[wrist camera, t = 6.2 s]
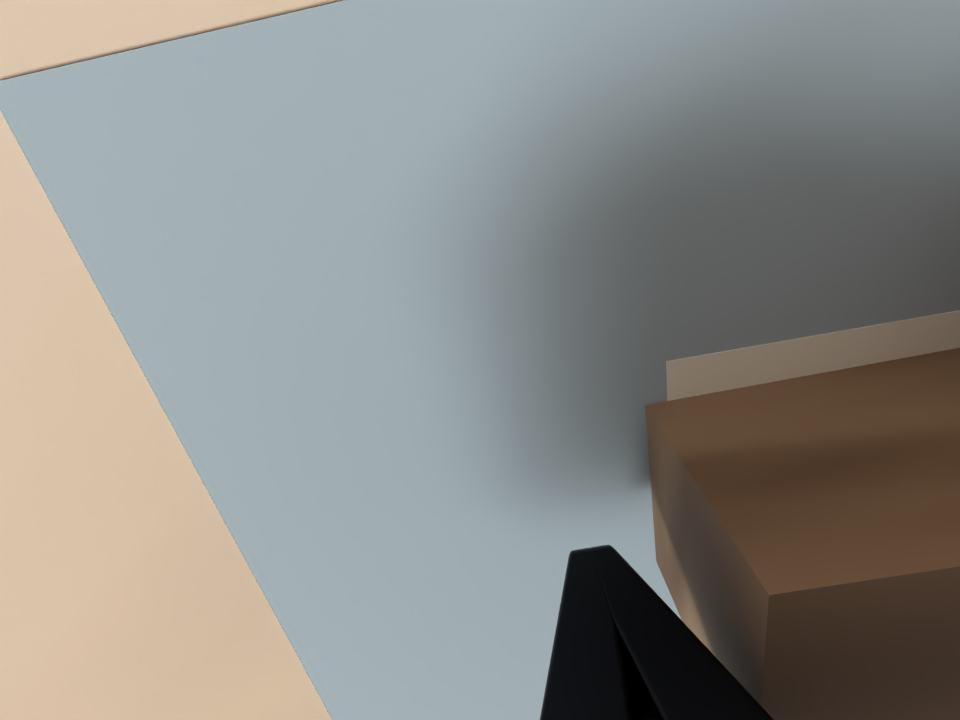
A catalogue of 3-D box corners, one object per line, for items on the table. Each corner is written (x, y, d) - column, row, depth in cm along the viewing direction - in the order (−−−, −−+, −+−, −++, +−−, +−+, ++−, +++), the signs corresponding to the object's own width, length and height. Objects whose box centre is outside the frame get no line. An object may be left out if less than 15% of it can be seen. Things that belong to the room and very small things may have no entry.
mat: (1174, 678, 13) (1180, 683, 12) (366, 777, 14) (365, 782, 14) (1870, -354, 5) (1901, -365, 5) (-8, 85, 7) (-16, 84, 6)
